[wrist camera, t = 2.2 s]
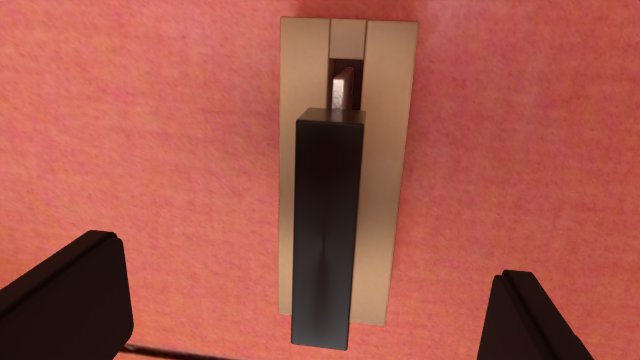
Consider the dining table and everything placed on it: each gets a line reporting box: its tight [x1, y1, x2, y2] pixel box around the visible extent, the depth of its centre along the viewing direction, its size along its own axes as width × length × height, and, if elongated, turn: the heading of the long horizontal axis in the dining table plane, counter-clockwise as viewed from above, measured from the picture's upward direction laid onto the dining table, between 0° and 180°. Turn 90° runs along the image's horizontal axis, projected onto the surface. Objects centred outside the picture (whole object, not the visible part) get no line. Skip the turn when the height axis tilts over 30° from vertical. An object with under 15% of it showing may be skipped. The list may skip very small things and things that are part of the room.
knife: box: [291, 67, 366, 351], centre depth 17 cm, size 10×2×8 cm, turn 178°
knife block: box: [278, 16, 419, 326], centre depth 20 cm, size 14×5×3 cm, turn 178°
